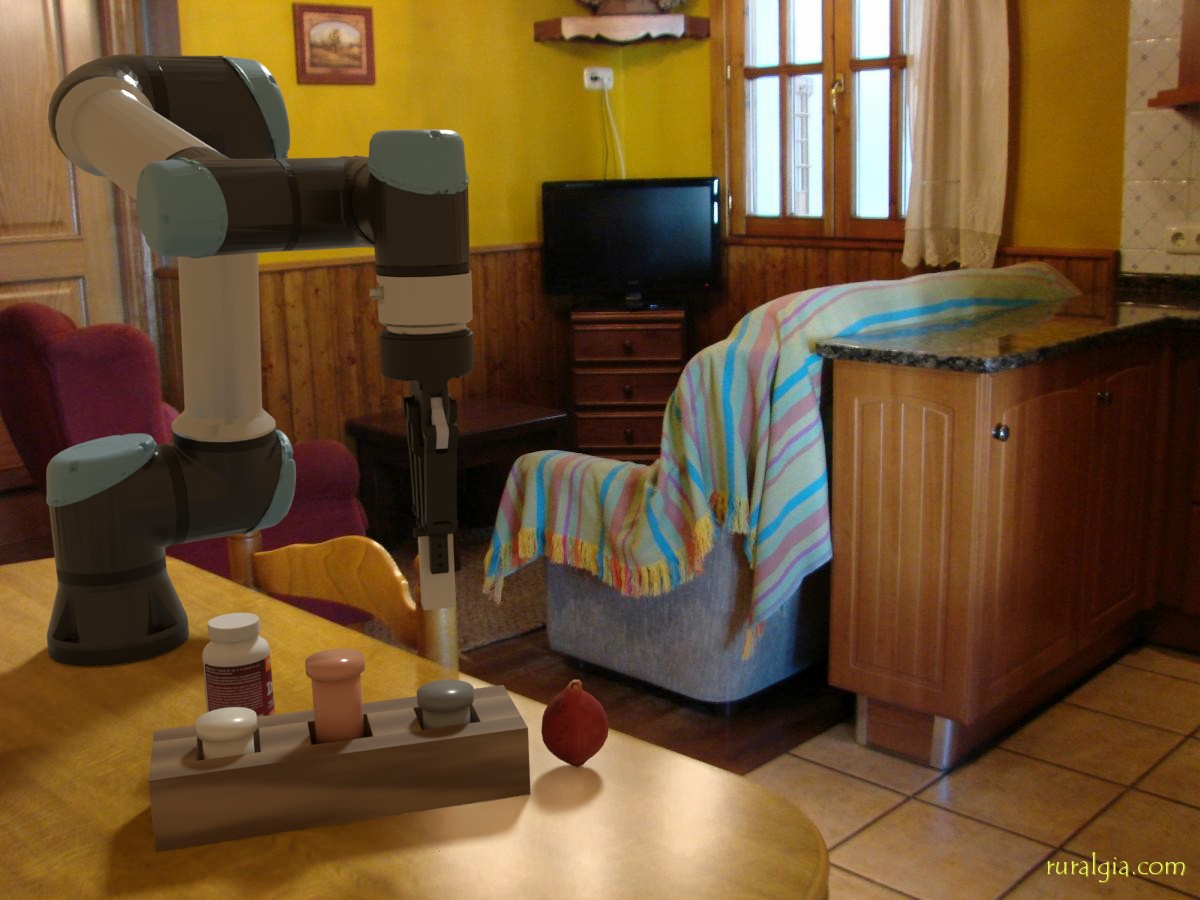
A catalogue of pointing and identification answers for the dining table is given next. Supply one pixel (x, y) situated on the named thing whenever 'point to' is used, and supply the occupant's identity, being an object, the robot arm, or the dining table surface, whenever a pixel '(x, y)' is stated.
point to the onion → (574, 725)
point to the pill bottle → (238, 665)
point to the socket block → (335, 772)
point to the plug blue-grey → (445, 703)
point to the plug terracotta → (337, 694)
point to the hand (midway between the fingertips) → (438, 605)
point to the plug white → (227, 732)
